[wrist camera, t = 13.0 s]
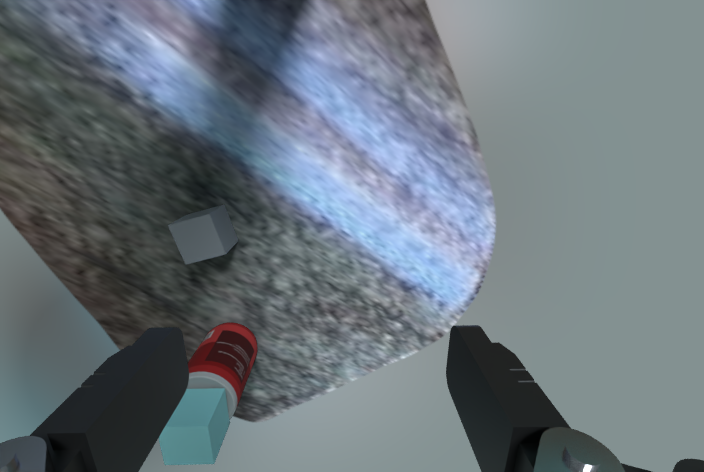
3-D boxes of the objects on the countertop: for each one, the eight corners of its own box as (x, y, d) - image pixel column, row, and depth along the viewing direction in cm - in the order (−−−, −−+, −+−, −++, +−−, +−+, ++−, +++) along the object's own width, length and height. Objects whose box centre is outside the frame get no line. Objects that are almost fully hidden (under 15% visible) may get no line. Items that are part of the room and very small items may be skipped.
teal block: (179, 388, 37) (155, 427, 33) (224, 388, 37) (207, 426, 33) (186, 423, 39) (164, 465, 34) (229, 422, 39) (214, 463, 34)
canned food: (207, 365, 50) (170, 429, 39) (203, 318, 47) (164, 373, 37) (259, 368, 50) (236, 432, 39) (258, 321, 47) (234, 377, 37)
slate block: (187, 214, 42) (167, 225, 38) (224, 204, 42) (209, 214, 37) (202, 249, 44) (185, 264, 39) (238, 240, 44) (225, 254, 39)
